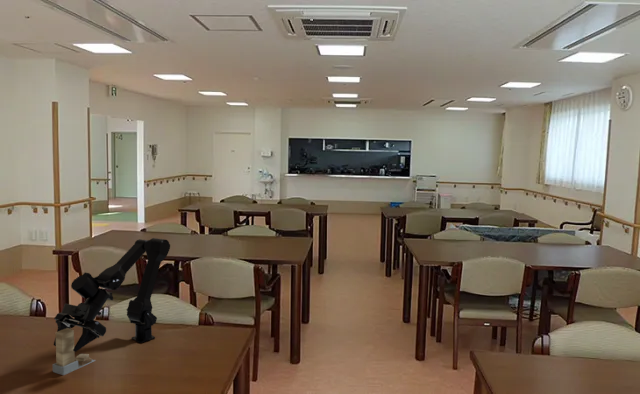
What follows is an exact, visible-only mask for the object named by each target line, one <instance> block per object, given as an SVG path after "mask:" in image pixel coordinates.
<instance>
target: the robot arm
mask: <svg viewBox="0 0 640 394" xmlns="http://www.w3.org/2000/svg"><path fill="white" fill-rule="evenodd" d="M170 249H171V244H170V242H169V240H167V239H165V238H164V239H163V238H157V237H153V238H151V239H136V241H134V244H133V245H132V246H131V247H130V248H129V249H128V250H127V251H126V252H125V254H124V255H122V256H121V258H120V259H119V260H118V261H117V262H115V264H113V265H111V266H109V267H107V268H105V269H104V270H103V271H102V272H100V273H99V274H98V275H97V276H93V275H92V274H91V273H90V272H86V271H85V272H83V274H82V275H79V276H77V277H76V278H75V279H73V280H72V282H71V284H70V287H71V289H72V290H73V291H74V292H75V293H77V294H78V295H79V296H81V297H82V298H84V299H85V300H84V302H80V303H78V305H74V304H69V303H64V305H63V308H62V311H61V312H58V313H57V314H56V315H55V316H54V320H55V323H56V326H57V331H56V332H58V331H60V330H63V329H66V328H69V329H73V328H74V327H78V328H79V327H80V328H82V331H81V332H82V333H81V335H80V337H79V338H78V340H77V342H76V343H75V344H74V349H73V351H74V353H77V352H78V351H80V350H81V349H82V348H84V347H85V346H86V345H88V344H90V343H91V342H93V341H95V340H96V339H100V337H104V336H105V334H106V333H107V327H106V326H105V325H104V324H102V323H101V322H100V321H97V320H95V319H96V317H98V316H99V317H100V316H101V315H102V312H101V310H102V308H103V307H104V305H105V304H106V302H107V301H108V300H109V301H114V297H113V292H112V291H115V290H116V291H117V290H118V289H119V288H121V286H122V284H123V282H124V281H125V279H126V274H127V273H128V272H129V270H131V268H132V267H133V266H134V265H135V264H136V263H137V262H138V261H139V259H141V257H142V256H143V255H144V254H146V256H147V261H146V264H145V268H144V271H143V275H142V278H141V282H140V286H139V289H138V292H137V296H136V297H134V299H133V300H132V299H130V300H129V301H128V305H127V308H126V316H127V319H128V320H129V323H130V324H134V325H135V326H134V330H135V331H134V332H135V333H134V334H135V335H134V336H132V337H131V340H133V341H134V342H135V341H136V342H137V343H139V344H142V343H145V342H149V341H151V340H155V339H156V336H154V335H153V333H152V331H153V329H152V326H154V325H155V324H156V323H157V320H158V317H157V316H156V315H155V314H154V313H152V310H153V305H152V304H153V303H152V300H151V298H152V294H153V291H154V288H155V284H156V281H157V276H158V273H159V270H160V266H161V264H162V262H163V261H164V260H165V259H166V258H167V256H168V254H169V252H170ZM108 290H112V291H108ZM53 346H54V347H56V336H55V338H54V341H53Z"/></svg>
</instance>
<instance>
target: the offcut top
mask: <svg viewBox="0 0 640 394" xmlns="http://www.w3.org/2000/svg"><path fill="white" fill-rule="evenodd" d="M89 357H90V354H89V353H80V354H78V355H77V356H75V359H76V361H85V360H86V359H88V358H89Z"/></svg>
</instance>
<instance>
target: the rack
mask: <svg viewBox="0 0 640 394" xmlns="http://www.w3.org/2000/svg"><path fill="white" fill-rule="evenodd" d="M96 361H97V360H96V359H93V358H92V362H90V363H87V364H85V365H83V366H81V365H78V361H75V362H73V363H70V364H68V365H66V366H64V367H62V366H58V365H57V363H56V362H55V363H52V372H53V373H55V374H58V375H62V376H66V375H67V374H68V375H69V374H70V373H72V372H73V371H74V372H75V371H76V370H78V369H80V368H83V367H85V366H87V365H89V364H91V363H93V362H96Z"/></svg>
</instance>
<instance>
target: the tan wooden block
mask: <svg viewBox="0 0 640 394" xmlns="http://www.w3.org/2000/svg"><path fill="white" fill-rule="evenodd" d="M54 334H55V337H56V346H55V355H56V356H55V360H56V362H55V363H57V365H58V366H62V367H64V366H66V365H68V364H70V363H73V362H75V357H76V356H75V354H76V353H75V352H74V351H73V349H74V347H75V330H74V329H73V328H71V329H69V328H66V329H63V330H60V331H58V332H57V331H55V333H54Z"/></svg>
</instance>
